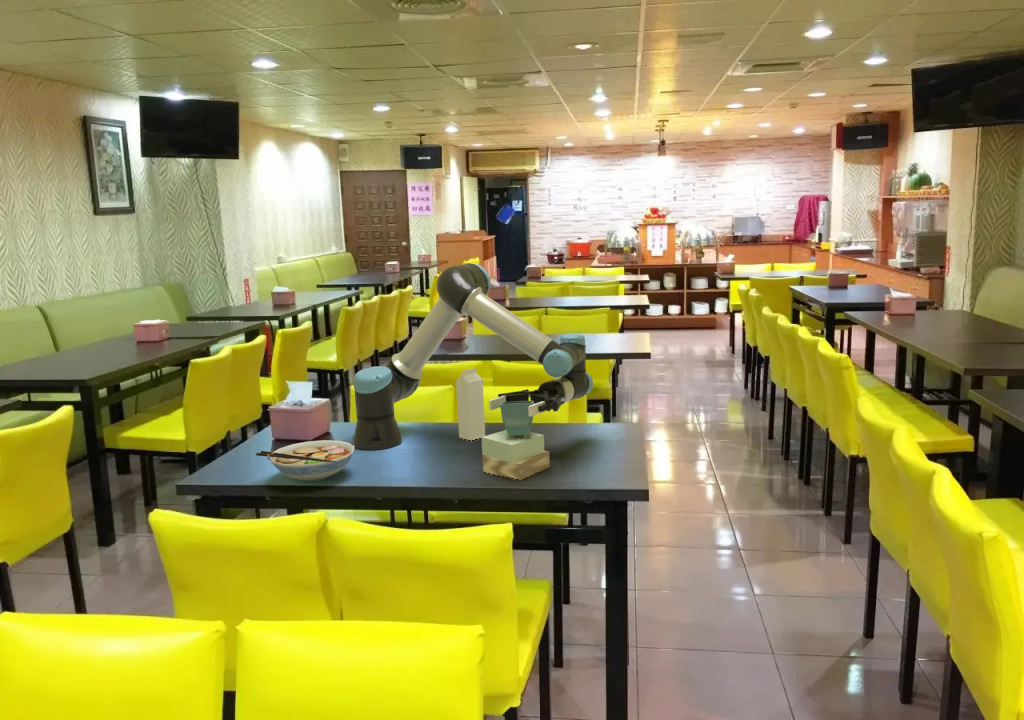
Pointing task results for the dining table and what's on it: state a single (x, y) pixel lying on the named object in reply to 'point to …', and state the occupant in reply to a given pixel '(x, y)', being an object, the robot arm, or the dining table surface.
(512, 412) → the flower pot
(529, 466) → the maple block
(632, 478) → the dining table surface
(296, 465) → the ramen bowl
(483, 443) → the sage block
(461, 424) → the milk
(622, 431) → the dining table surface
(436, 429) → the dining table surface
